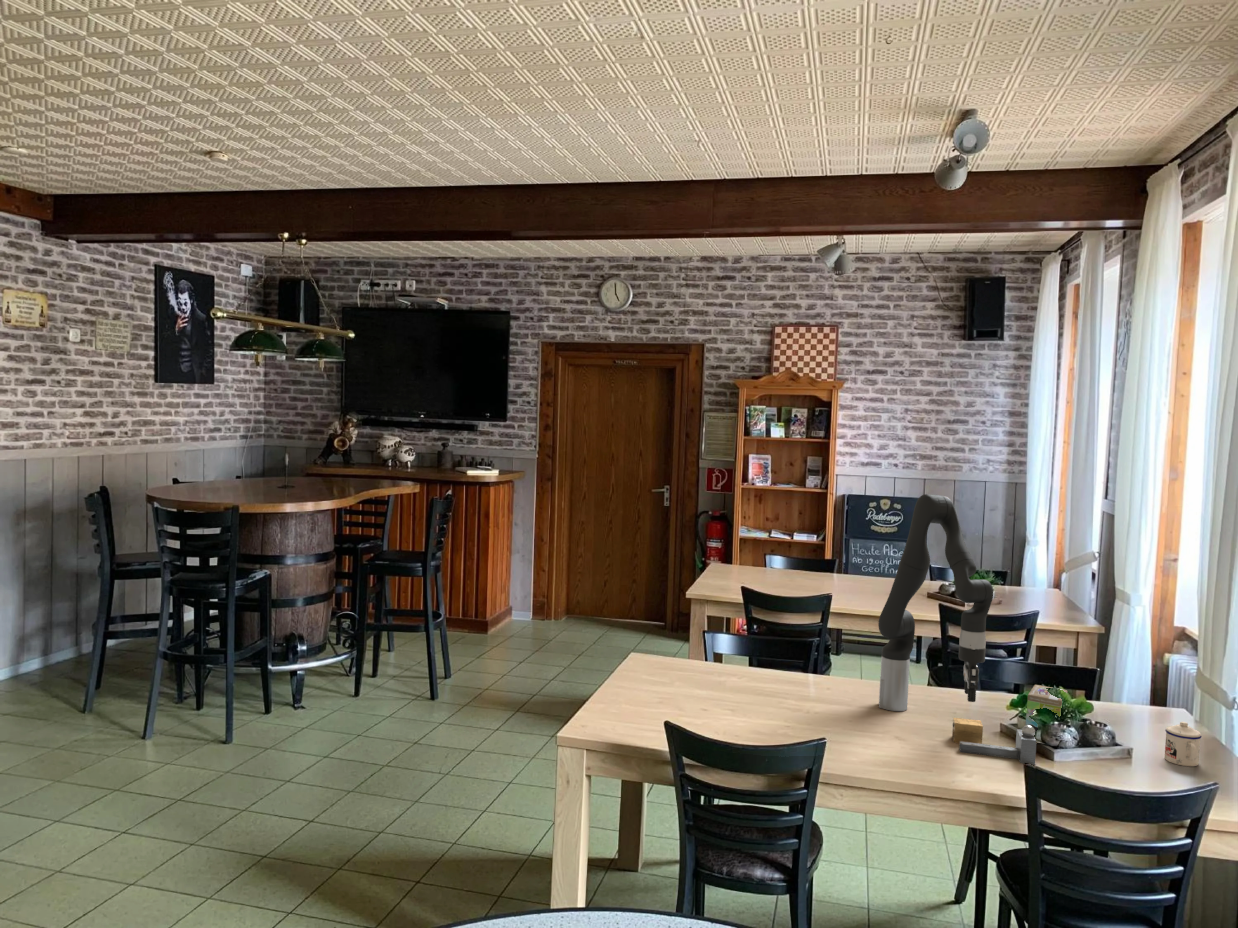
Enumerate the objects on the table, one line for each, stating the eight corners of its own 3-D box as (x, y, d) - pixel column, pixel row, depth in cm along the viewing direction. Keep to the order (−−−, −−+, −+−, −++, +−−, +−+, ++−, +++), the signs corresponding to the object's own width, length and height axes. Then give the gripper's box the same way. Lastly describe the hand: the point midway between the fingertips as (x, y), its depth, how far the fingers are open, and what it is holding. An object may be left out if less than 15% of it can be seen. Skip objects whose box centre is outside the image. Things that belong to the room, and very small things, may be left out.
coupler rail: (961, 755, 272) (962, 722, 272) (958, 745, 281) (959, 713, 280) (1036, 764, 267) (1038, 730, 266) (1030, 754, 276) (1032, 721, 275)
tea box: (1059, 748, 282) (1062, 700, 281) (1023, 741, 287) (1026, 693, 286) (1065, 735, 294) (1068, 688, 294) (1030, 728, 300) (1033, 683, 299)
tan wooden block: (952, 742, 284) (953, 722, 283) (951, 736, 289) (952, 717, 289) (981, 745, 282) (982, 726, 281) (979, 739, 287) (980, 720, 287)
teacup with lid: (1158, 754, 279) (1160, 716, 279) (1191, 757, 278) (1193, 718, 278) (1175, 769, 268) (1178, 729, 267) (1210, 772, 266) (1213, 731, 266)
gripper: (957, 638, 292) (954, 690, 292) (961, 648, 278) (959, 702, 279) (982, 640, 290) (980, 692, 291) (988, 651, 276) (985, 705, 277)
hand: (969, 697), depth 285 cm, fingers open, 8 cm apart
